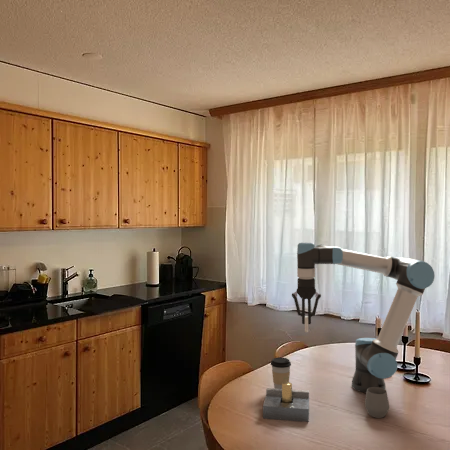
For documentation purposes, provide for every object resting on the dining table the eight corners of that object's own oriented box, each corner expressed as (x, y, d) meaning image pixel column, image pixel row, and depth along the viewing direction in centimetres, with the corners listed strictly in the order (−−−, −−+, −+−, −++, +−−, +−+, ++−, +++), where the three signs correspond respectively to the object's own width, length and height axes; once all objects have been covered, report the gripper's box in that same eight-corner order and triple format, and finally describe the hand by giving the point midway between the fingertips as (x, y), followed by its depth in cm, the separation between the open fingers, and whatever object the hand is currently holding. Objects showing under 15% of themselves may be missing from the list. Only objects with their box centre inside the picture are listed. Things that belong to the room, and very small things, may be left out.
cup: (386, 422, 175) (386, 396, 175) (362, 417, 180) (361, 392, 179) (391, 413, 183) (391, 389, 183) (368, 408, 188) (368, 384, 188)
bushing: (291, 411, 186) (292, 382, 186) (291, 415, 182) (291, 386, 182) (282, 410, 187) (282, 381, 186) (281, 414, 183) (281, 385, 182)
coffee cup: (290, 397, 200) (290, 363, 200) (269, 395, 202) (269, 362, 202) (291, 389, 210) (291, 357, 209) (271, 387, 211) (271, 356, 211)
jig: (309, 407, 190) (309, 390, 189) (308, 421, 176) (308, 404, 176) (266, 404, 193) (266, 387, 193) (263, 418, 179) (262, 400, 179)
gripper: (321, 276, 198) (321, 329, 198) (291, 276, 201) (292, 328, 201) (321, 279, 191) (321, 334, 191) (290, 278, 193) (291, 333, 194)
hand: (306, 331), depth 196 cm, fingers closed
